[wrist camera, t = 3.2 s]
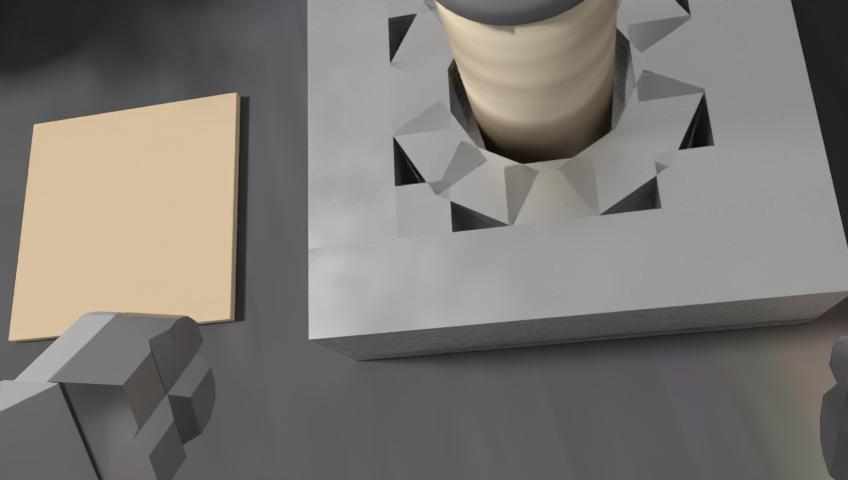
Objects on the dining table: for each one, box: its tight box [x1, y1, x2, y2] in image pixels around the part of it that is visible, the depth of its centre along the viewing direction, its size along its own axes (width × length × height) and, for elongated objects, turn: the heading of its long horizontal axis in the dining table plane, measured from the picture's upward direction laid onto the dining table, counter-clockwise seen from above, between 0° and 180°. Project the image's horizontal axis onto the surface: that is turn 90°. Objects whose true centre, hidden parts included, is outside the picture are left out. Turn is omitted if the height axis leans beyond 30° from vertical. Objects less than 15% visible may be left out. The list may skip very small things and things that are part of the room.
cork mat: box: [9, 92, 240, 342], centre depth 32 cm, size 10×10×1 cm
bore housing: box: [308, 0, 848, 361], centre depth 27 cm, size 16×16×5 cm
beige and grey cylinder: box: [435, 0, 617, 164], centre depth 23 cm, size 5×5×12 cm
